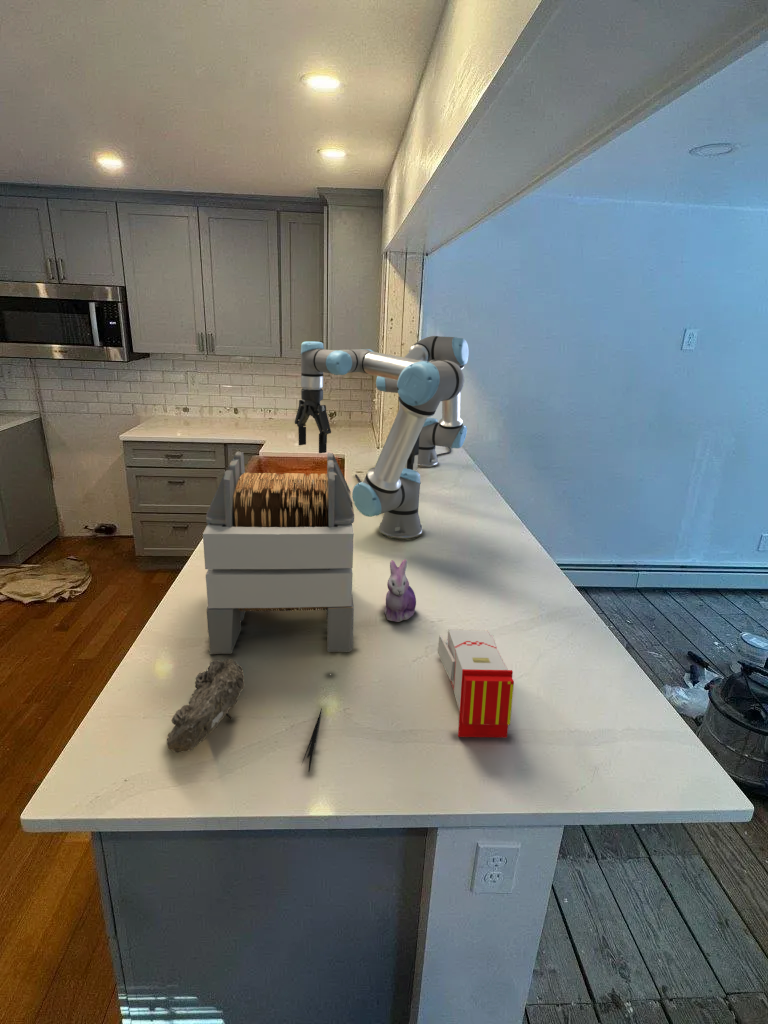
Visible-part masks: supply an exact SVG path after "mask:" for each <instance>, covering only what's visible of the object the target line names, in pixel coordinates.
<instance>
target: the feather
mask: <svg viewBox="0 0 768 1024" xmlns="http://www.w3.org/2000/svg"><path fill="white" fill-rule="evenodd" d="M329 675H330V676H331V675H332V674H331V673H330V674H329ZM322 710H323V707H321V708H320V710H319V713H318V716H317V719H316V723H315V725H314V728H313V731H312V733H311V737H310V739H309V742H308V745H307V748H306V751H305V754H304V757H303V760H302V763H301V767H302V765H303V763H304V761H305V758H308V759H309V760H308V762H307V763H308V764H307V766H308V771H310V770H311V766H312V765H311V764H312V760H313V757H315V756H314V755H315V751H316V749H315V746H317V739H318V733H319V729H320V722H321V717H322V712H323V711H322ZM313 754H314V755H313ZM306 755H307V757H306Z"/></svg>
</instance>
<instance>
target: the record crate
mask: <svg viewBox="0 0 768 1024" xmlns="http://www.w3.org/2000/svg"><path fill="white" fill-rule="evenodd" d="M244 455H245V454H244V451H242V452H241V451H236V452H235V454H234V456H233V458H232V459H230V463H229V465H228V467H227V469H226V470H224V473H223V475H222V478H221V479H220V482H219V484H218V487H217V489H216V491H215V494H214V495H213V497H212V500H211V502H210V505H209V507H208V509H207V511H206V515H205V523H206V524H207V525H206V527H205V529H204V531H203V533H202V543H203V558H204V569H205V570H206V573H205V584H206V587H205V588H206V598H207V599H206V601H207V607H206V623H207V634H208V641H209V642H208V643H209V650H208V653H209V655H216V654H217V655H218V654H221V655H222V654H223V655H226V654H227V655H228V654H230V655H231V654H232V653H233V650H234V648H235V647H236V643H237V641H238V638H239V636H240V634H241V630H242V626H241V625H242V623H241V622H243V621H244V618H245V615H246V612H272V611H273V612H279V611H280V612H284V611H286V612H288V611H289V612H291V611H292V612H293V611H294V612H295V611H303V612H304V611H322V610H323V611H326V636H327V637H326V641H327V645H326V646H327V652H329V653H330V652H332V653H333V652H343V653H349V652H351V651H352V650H354V617H355V616H354V614H355V607H354V598H353V575H354V573H353V566H354V563H353V562H354V537H355V536H354V535H355V532H354V527H353V524H354V522H355V511H354V506H353V505H354V504H353V498H352V495H351V489H350V487H349V485H348V483H347V480H346V479H345V476H344V474H343V472H342V470H341V467H340V465H339V463H338V461H337V459H336V457H335V455H334V453H333V452H326V456H327V457H326V468H327V469H326V473H320V474H318V473H307V474H306V473H303V472H302V473H299V472H298V473H297V472H294V473H293V472H292V473H291V472H290V473H288V472H283V473H276V472H273V473H271V472H263V473H262V472H259V473H258V472H253V473H252V472H245V468H246V467H245V456H244Z"/></svg>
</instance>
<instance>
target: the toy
mask: <svg viewBox="0 0 768 1024" xmlns="http://www.w3.org/2000/svg"><path fill="white" fill-rule="evenodd" d="M446 640H447V643H446V641H445V639H444V636H443V635H442V634H439V637H438V646H437V656H438V657H439V659H440V661H441V663H442V666H443V668H444V670H445V672H446V674H447V677H448V679H449V681H450V684H451V687H452V690H453V693H454V697H455V701H456V705H457V708H458V711H459V714H458V715H459V716H458V730H457V731H458V732H457V737H458V738H508V731H509V726H510V725H511V717H512V707H513V697H514V696H513V695H514V684H515V680H514V679H513V673H514V671H513V670H512V669H508V667H507V665H506V662H505V661H504V659H503V658H502V655H501V653H500V651H499V649H498V647H497V643H496V639H495V637H494V635H493V634H491V632H490V631H489V629H467V628H466V629H465V628H463V629H461V628H460V629H459V628H448V630H447V639H446Z"/></svg>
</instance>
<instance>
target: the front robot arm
mask: <svg viewBox="0 0 768 1024" xmlns="http://www.w3.org/2000/svg"><path fill="white" fill-rule="evenodd" d="M324 347H325V346H324V343H323V342H321V341H314V340H313V341H311V340H310V341H309V340H307V341H306V340H305V341H303V342H302V343H301V347H300V372H301V373H300V387H301V390H300V398H301V399H299V400H298V407H297V412H296V415H295V417H294V425H296V426H297V429H298V430H297V431H298V434H297V435H298V446H305V445H307V422H308V420H309V418H310V417H312V419H314V421H315V424H316V427H317V429H318V431H319V433H318V454H325V453H326V454H327V453H328V451H327V449H328V447H327V445H328V444H327V443H328V435H329V434H332V429H331V425H330V422H329V421H330V420H329V417H328V413H327V405H326V404H321V402H322V401H323V400H324V389H323V388H324V373H326V374H329V375H333V376H344V375H347V374H350V373H362V374H367V375H370V376H371V375H372V376H376V377H377V376H380V377H385V378H389V379H393V380H398V383H397V388H398V389H399V390H398V393H397V394H398V399H397V401H398V404H399V403H400V405H401V406H400V409H399V408H398V411H397V413H396V416H395V418H394V420H393V423H392V425H391V428H390V430H389V432H388V434H387V437H386V439H385V442H384V444H383V446H382V449H381V451H380V454H379V456H378V458H377V461H376V463H375V466H374V467H371V468H369V469H368V470H367V472H366V475H365V477H364V479H363V481H361V479H360V478H359V476H358V474H354V477H355V478H356V480H357V483H356V484H355V485H354V486H353V489H352V495H351V498H352V502H353V505H354V507H355V508H356V510H357V511H358V512H359V513H360V514H361V515H363V516H364V517H368V518H371V517H378V516H380V515H382V514H383V515H382V519H381V522H379V526H378V533H379V534H380V535H381V536H382V537H385V538H387V539H389V540H395V541H410V540H415V539H418V538H420V537H421V536H422V535H423V525H422V524H421V518H420V515H419V507H420V506H419V505H420V494H421V493H420V492H421V474H420V472H418V470H417V471H414V470H411V469H406V468H404V467H405V464H406V462H407V460H408V458H409V456H410V454H411V451H412V449H413V447H414V445H415V443H416V441H417V438H418V436H419V434H420V432H421V430H422V427H423V425H424V423H425V421H426V419H427V418H431V417H432V416H434V415H435V413H436V412H437V409H438V407H439V405H440V403H442V401H446V400H450V399H452V398H454V397H456V396H457V395H458V394H459V393H460V394H461V392H462V390H463V388H464V385H465V374H464V371H463V369H462V370H461V368H460V367H459V366H458V365H457V364H456V363H454V362H451V361H439V360H431V361H430V362H427V361H420V360H415V359H410V358H404V357H405V356H399V355H393V354H388V353H383V352H376V351H374V350H373V349H370V348H360V349H359V348H358V349H325V348H324Z"/></svg>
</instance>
